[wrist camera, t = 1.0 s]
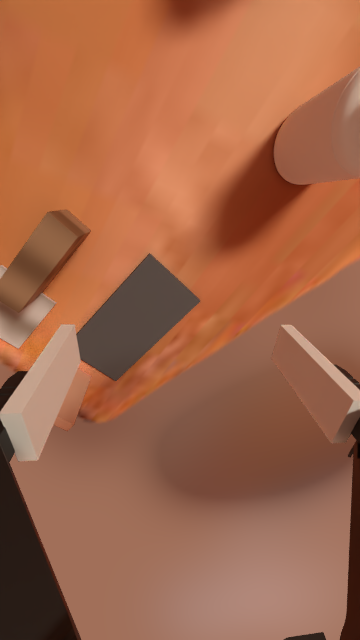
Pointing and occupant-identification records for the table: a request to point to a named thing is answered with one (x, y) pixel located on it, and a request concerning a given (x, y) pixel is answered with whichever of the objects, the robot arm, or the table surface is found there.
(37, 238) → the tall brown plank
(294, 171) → the pill bottle
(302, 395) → the robot arm
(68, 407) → the tile
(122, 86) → the table surface
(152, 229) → the table surface
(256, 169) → the table surface
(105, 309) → the mat
